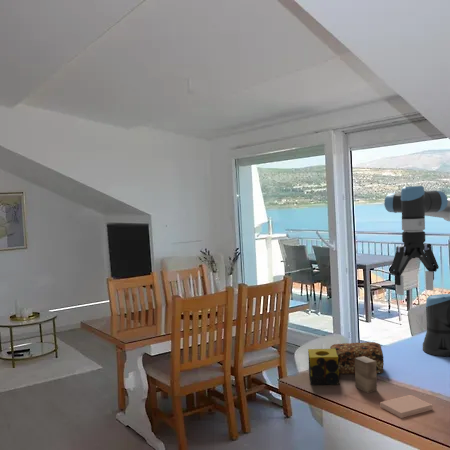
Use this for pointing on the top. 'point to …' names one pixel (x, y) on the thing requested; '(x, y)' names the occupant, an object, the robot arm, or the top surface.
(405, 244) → the robot arm
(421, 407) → the tile
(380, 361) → the bread
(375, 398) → the top surface
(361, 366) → the light brown rectangular block
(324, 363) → the yellow spotted cube
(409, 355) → the top surface
